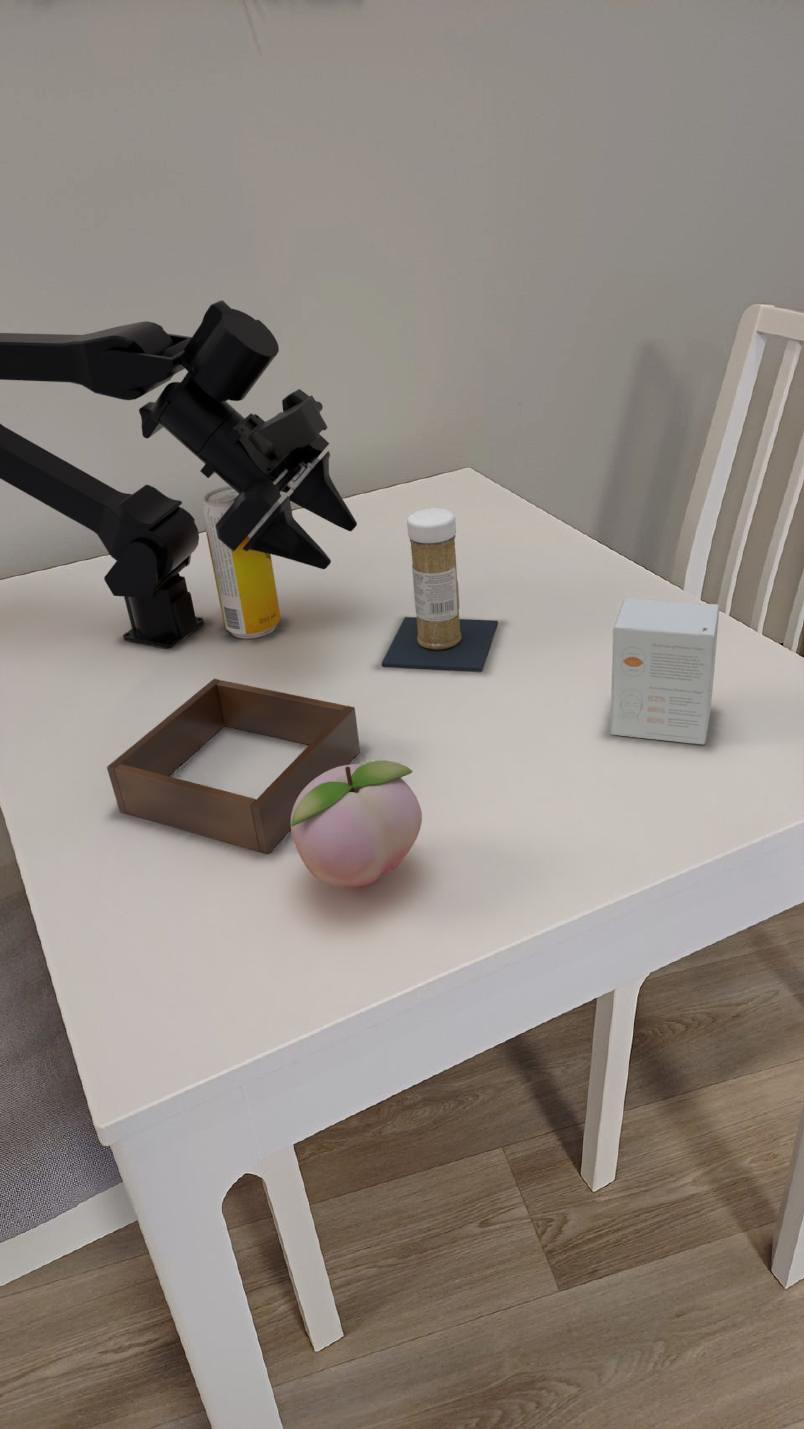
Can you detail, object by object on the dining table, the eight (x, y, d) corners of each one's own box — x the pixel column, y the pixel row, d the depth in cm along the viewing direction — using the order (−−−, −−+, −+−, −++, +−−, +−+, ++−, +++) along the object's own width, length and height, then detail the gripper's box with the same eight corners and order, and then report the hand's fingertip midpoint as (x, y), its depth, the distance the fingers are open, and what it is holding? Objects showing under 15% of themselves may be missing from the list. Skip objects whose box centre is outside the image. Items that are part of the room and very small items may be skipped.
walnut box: (119, 811, 81) (106, 766, 79) (222, 720, 92) (213, 678, 89) (268, 854, 75) (259, 807, 73) (360, 750, 86) (355, 707, 83)
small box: (711, 711, 87) (722, 603, 81) (705, 747, 82) (717, 635, 77) (618, 701, 89) (623, 595, 83) (608, 735, 85) (612, 626, 79)
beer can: (291, 618, 108) (271, 486, 100) (262, 644, 104) (239, 508, 96) (245, 611, 111) (221, 482, 103) (214, 636, 106) (187, 502, 98)
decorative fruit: (373, 823, 77) (360, 715, 72) (445, 872, 72) (436, 759, 66) (274, 882, 72) (252, 770, 67) (343, 939, 67) (325, 823, 61)
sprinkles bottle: (461, 629, 102) (455, 505, 95) (461, 651, 98) (454, 523, 91) (417, 631, 103) (408, 507, 96) (415, 652, 99) (405, 525, 92)
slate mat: (381, 666, 98) (381, 663, 98) (405, 620, 106) (404, 616, 106) (481, 671, 96) (481, 668, 95) (497, 623, 104) (497, 620, 103)
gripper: (226, 400, 82) (368, 529, 85) (297, 347, 97) (415, 458, 100) (158, 491, 88) (293, 608, 91) (235, 427, 103) (348, 530, 106)
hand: (341, 546), depth 97 cm, fingers open, 9 cm apart
